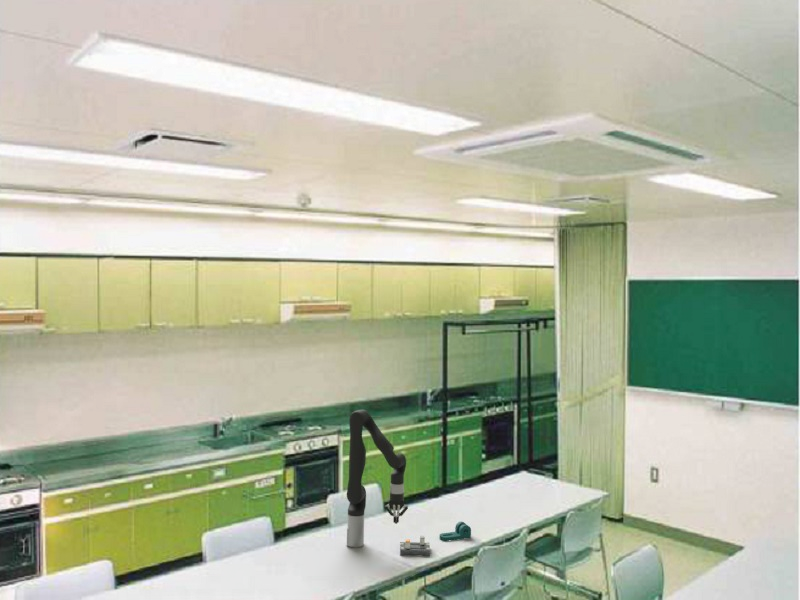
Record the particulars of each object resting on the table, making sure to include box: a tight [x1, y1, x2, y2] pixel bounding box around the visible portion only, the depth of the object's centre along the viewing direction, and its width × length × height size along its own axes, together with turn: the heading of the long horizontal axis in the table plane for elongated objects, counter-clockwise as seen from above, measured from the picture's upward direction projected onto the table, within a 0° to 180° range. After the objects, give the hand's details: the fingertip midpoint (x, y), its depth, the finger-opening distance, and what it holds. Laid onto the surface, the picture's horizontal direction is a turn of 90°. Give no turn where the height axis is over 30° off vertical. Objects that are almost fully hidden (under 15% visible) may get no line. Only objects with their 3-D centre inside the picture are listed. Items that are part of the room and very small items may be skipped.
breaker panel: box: [399, 541, 431, 557], centre depth 376 cm, size 16×11×3 cm
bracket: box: [439, 521, 472, 542], centre depth 398 cm, size 18×7×8 cm, turn 111°
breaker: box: [419, 535, 426, 545], centre depth 379 cm, size 2×3×4 cm
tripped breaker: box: [405, 538, 411, 549], centre depth 373 cm, size 2×3×4 cm
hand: (396, 523), depth 373 cm, fingers closed
